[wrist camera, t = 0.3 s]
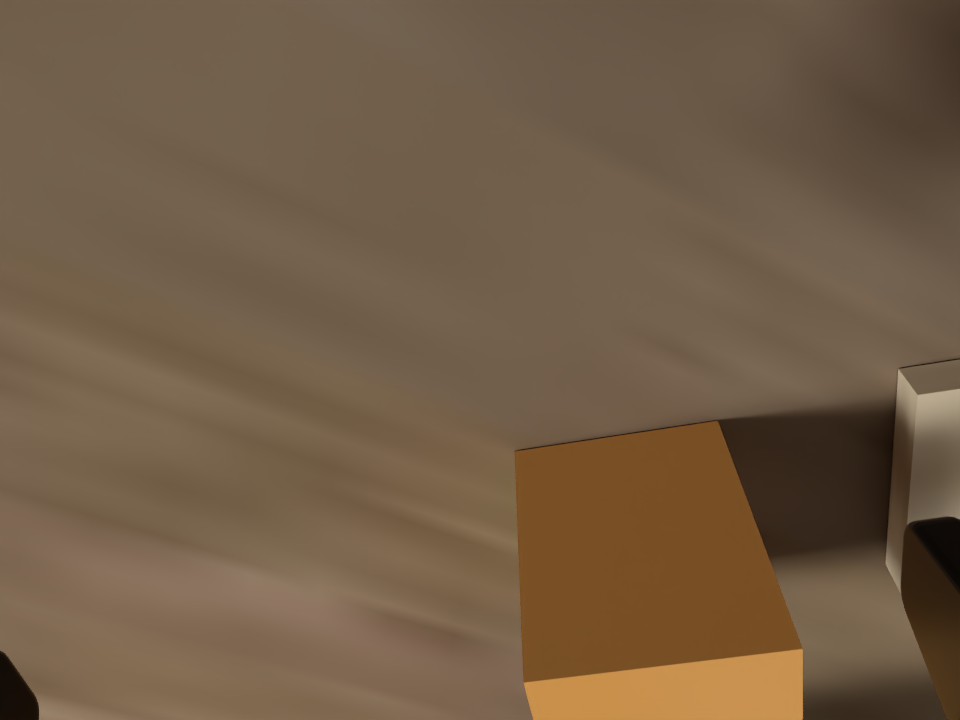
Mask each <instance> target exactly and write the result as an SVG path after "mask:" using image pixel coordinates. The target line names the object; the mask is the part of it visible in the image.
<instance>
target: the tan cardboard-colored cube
mask: <svg viewBox="0 0 960 720" xmlns="http://www.w3.org/2000/svg"><path fill="white" fill-rule="evenodd" d="M515 476H516V502H517V528H518V553H519V579H520V605H521V630H522V656H523V682H524V686H525V690H526V694H527V697H528V701H529V705H530V709H531V712H532V716H533V720H803V649H802V646H801V643H800V640H799V638H798V635H797V632H796V630H795V627H794V624H793V622H792V619H791V616H790V614H789V611H788V608H787V606H786V603H785V600H784V597H783V595H782V592H781V589H780V587H779V584H778V581H777V579H776V576H775V573H774V571H773V568H772V565H771V563H770V560H769V557H768V554H767V552H766V549H765V546H764V544H763V541H762V538H761V536H760V533H759V530H758V528H757V525H756V522H755V520H754V517H753V514H752V511H751V509H750V506H749V503H748V501H747V498H746V495H745V493H744V490H743V487H742V485H741V482H740V479H739V477H738V474H737V471H736V468H735V466H734V463H733V460H732V458H731V455H730V452H729V450H728V447H727V444H726V442H725V439H724V436H723V434H722V431H721V428H720V425H719V423H718V421H713V422H706V423H699V424H693V425H686V426H679V427H673V428H666V429H660V430H653V431H646V432H640V433H633V434H627V435H620V436H613V437H607V438H600V439H594V440H587V441H580V442H574V443H567V444H561V445H554V446H547V447H541V448H534V449H527V450H521V451H515Z"/></svg>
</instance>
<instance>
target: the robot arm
mask: <svg viewBox="0 0 960 720" xmlns="http://www.w3.org/2000/svg"><path fill="white" fill-rule="evenodd" d="M901 595H902V600H903V604H904V608H905V611H906V614H907V616H908V619H909V622H910V624H911V627H912V629H913V632H914V635H915V637H916V640H917V642H918V645H919V648H920V650H921V653H922V655H923V658H924V661H925V663H926V666H927V668H928V671H929V674H930V676H931V679H932V681H933V684H934V687H935V689H936V692H937V694H938V697H939V700H940V702H941V705H942V707H943V710H944V713H945V715H946V718H947V720H960V519H958V518H955V517H950V516H946V517H939V518H931V519H924V520H917V521H913V522H910V523H909V524H908V525H907V526H906V528H905V531H904V535H903V551H902V568H901ZM0 720H39V706H38V702H37V699H36V697H35V695H34V693H33V692H32V691H31V689H30V688H29V686H28V685H27V683H26V682H25V681H24V679H23V678H22V676H21V675H20V674H19V672H18V671H17V669H16V668H15V666H14V665H13V664H12V662H11V661H10V659H9V658H8V657H7V656H6V654H5V653H3V652H2V651H0Z"/></svg>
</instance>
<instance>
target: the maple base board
mask: <svg viewBox="0 0 960 720" xmlns="http://www.w3.org/2000/svg"><path fill="white" fill-rule="evenodd" d="M946 516H950V517H955V518H958V519H960V359H959V360H953V361H946V362H940V363H934V364H927V365H921V366H914V367H908V368H901V369H899V370H898V385H897V399H896V414H895V429H894V444H893V459H892V474H891V489H890V504H889V519H888V534H887V549H886V566H887V568H888V570H889V572H890V574H891V576H892V578H893V580H894V581H895V583H896V585H897V587H898V589H899V591H900V593H901V568H902V551H903V535H904V531H905V528H906V526H907V525H908V524H909V523H910V522H913V521H917V520H924V519H931V518H939V517H946Z"/></svg>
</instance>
